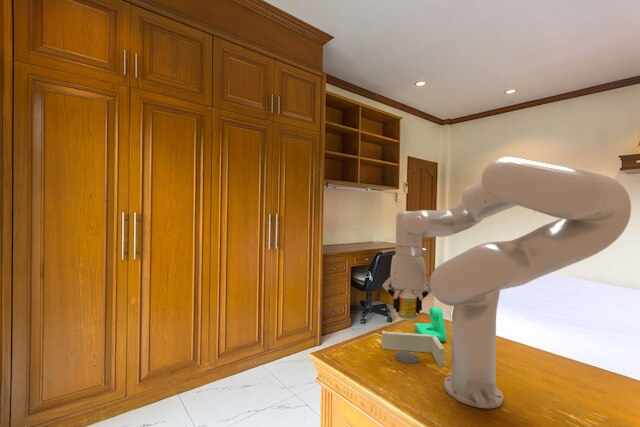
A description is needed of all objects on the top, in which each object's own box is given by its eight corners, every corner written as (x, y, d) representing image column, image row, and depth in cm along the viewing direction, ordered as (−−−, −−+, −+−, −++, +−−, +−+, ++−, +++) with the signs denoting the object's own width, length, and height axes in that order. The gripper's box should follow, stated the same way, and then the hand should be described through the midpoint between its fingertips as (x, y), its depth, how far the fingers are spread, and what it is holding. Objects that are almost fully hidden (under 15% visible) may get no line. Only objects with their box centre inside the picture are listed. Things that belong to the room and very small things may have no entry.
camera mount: (414, 329, 113) (414, 302, 113) (434, 330, 112) (435, 303, 113) (423, 342, 101) (423, 312, 101) (446, 343, 100) (446, 313, 101)
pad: (421, 364, 85) (421, 363, 85) (396, 362, 86) (396, 361, 86) (416, 353, 92) (417, 352, 92) (393, 351, 93) (393, 350, 93)
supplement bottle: (405, 321, 86) (405, 288, 86) (394, 315, 91) (394, 284, 91) (420, 319, 88) (420, 287, 88) (408, 314, 93) (409, 283, 93)
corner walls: (444, 366, 84) (444, 349, 84) (384, 361, 86) (384, 344, 86) (435, 351, 94) (435, 335, 94) (381, 346, 97) (382, 331, 97)
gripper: (434, 251, 92) (433, 310, 92) (378, 249, 95) (377, 306, 94) (441, 254, 85) (440, 318, 85) (380, 252, 87) (379, 314, 87)
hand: (407, 311), depth 89 cm, fingers closed on supplement bottle, 5 cm apart
